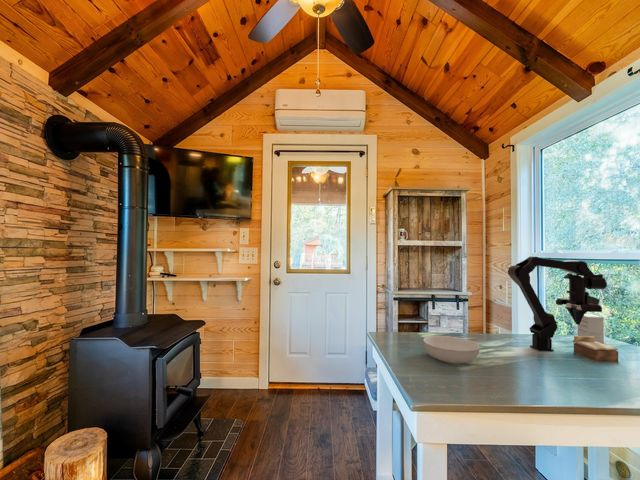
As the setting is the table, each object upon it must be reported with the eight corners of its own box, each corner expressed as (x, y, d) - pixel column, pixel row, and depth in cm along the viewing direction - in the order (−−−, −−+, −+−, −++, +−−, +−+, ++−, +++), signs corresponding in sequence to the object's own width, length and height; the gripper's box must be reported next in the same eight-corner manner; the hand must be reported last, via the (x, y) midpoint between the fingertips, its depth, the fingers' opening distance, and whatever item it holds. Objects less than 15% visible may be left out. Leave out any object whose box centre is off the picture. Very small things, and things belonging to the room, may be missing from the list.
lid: (595, 350, 128) (594, 343, 128) (573, 342, 139) (572, 336, 139) (617, 350, 128) (617, 344, 128) (593, 342, 139) (593, 336, 139)
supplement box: (592, 339, 161) (592, 314, 161) (604, 343, 154) (604, 317, 154) (576, 338, 162) (576, 313, 162) (587, 342, 154) (587, 316, 155)
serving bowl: (487, 371, 116) (487, 352, 116) (426, 366, 120) (426, 348, 120) (472, 353, 136) (472, 337, 136) (420, 349, 140) (420, 333, 140)
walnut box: (595, 362, 128) (595, 351, 128) (573, 353, 139) (573, 342, 139) (618, 362, 128) (618, 351, 128) (594, 353, 139) (594, 343, 139)
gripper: (614, 292, 134) (615, 329, 133) (578, 286, 152) (578, 319, 152) (588, 291, 133) (588, 329, 133) (554, 286, 152) (555, 319, 152)
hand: (577, 324), depth 142 cm, fingers closed
